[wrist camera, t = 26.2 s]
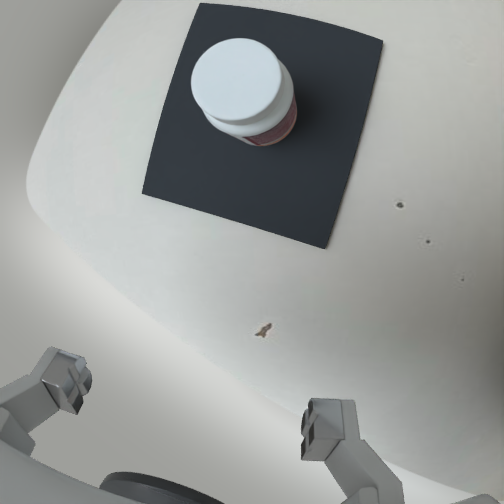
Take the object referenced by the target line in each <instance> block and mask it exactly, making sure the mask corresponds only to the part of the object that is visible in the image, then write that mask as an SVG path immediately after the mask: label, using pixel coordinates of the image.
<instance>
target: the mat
mask: <svg viewBox="0 0 504 504" xmlns="http://www.w3.org/2000/svg"><path fill="white" fill-rule="evenodd" d="M235 38H245V39H251V40H255V41H257V42H260V43H262V44H263V45H265V46H266V47H268V48H269V49H270V50H271V51H272V52H273V53H274V54H275V56H276V57H277V59H278V60H280V61H281V63H282V64H283V65H284V66H285V67H286V69H287V70H288V72H289V74H290V76H291V79H292V82H293V86H294V88H293V89H294V94H295V101H296V107H297V117H296V121H295V124H294V126H293V128H292V130H291V131H290V132H289V134H288V135H287V136H286V137H285V138H283V139H282V140H280V141H279V142H277V143H274V144H271V145H267V146H255V145H250V144H247V143H245V142H243V141H241V140H239V139H237V138H235V137H233V136H231V135H228V134H226V133H225V132H222V131H220V130H219V129H217V128H216V127H214V126H213V125H212V124H211V123H210V122H209V121H208V119H207V118H206V116H205V114H204V112H203V110H202V109H201V107H200V106H199V105H198V104H197V102H196V100H195V98H194V96H193V93H192V88H191V77H192V73H193V70H194V67H195V65H196V63H197V61H198V60H199V58H200V57H201V56H202V55H203V54H204V53H205V52H206V51H207V50H208V49H209V48H211V47H212V46H214V45H215V44H217V43H219V42H222V41H225V40H229V39H235ZM382 44H383V40H380V39H377V38H374V37H372V36H369V35H366V34H363V33H360V32H357V31H353V30H350V29H347V28H343V27H340V26H337V25H333V24H329V23H325V22H322V21H318V20H314V19H309V18H305V17H301V16H296V15H291V14H286V13H281V12H275V11H269V10H263V9H256V8H249V7H241V6H232V5H222V4H209V3H200V4H199V7H198V9H197V11H196V14H195V16H194V19H193V21H192V24H191V27H190V29H189V32H188V34H187V37H186V40H185V42H184V45H183V48H182V51H181V54H180V56H179V59H178V62H177V65H176V68H175V71H174V74H173V77H172V80H171V83H170V87H169V90H168V93H167V96H166V100H165V103H164V106H163V110H162V113H161V117H160V120H159V124H158V128H157V131H156V135H155V139H154V143H153V147H152V151H151V155H150V159H149V163H148V167H147V172H146V176H145V181H144V185H143V190H142V194H145V195H148V196H152V197H155V198H159V199H162V200H165V201H169V202H172V203H176V204H179V205H183V206H186V207H189V208H193V209H196V210H199V211H203V212H206V213H210V214H213V215H216V216H219V217H223V218H226V219H229V220H233V221H236V222H239V223H243V224H246V225H249V226H252V227H256V228H259V229H262V230H265V231H268V232H272V233H275V234H278V235H281V236H284V237H288V238H291V239H294V240H297V241H300V242H303V243H306V244H310V245H313V246H316V247H319V248H322V249H325V248H326V245H327V242H328V239H329V236H330V233H331V230H332V227H333V224H334V221H335V218H336V215H337V212H338V208H339V205H340V202H341V199H342V196H343V192H344V189H345V186H346V183H347V179H348V176H349V173H350V169H351V166H352V162H353V159H354V156H355V152H356V149H357V145H358V141H359V138H360V134H361V130H362V127H363V123H364V119H365V115H366V112H367V108H368V104H369V100H370V96H371V92H372V88H373V84H374V79H375V75H376V71H377V67H378V62H379V58H380V53H381V49H382Z"/></svg>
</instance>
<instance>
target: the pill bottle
mask: <svg viewBox="0 0 504 504" xmlns="http://www.w3.org/2000/svg"><path fill="white" fill-rule="evenodd" d="M191 88H192V93H193V96H194V98H195V100H196V102H197V104H198V105H199V106H200V107H201V109H202V110H203V112H204V114H205V116H206V118H207V119H208V121H209V122H210V123H211V124H212V125H213V126H214V127H216V128H217V129H219V130H220V131H222V132H225V133H226V134H228V135H231V136H233V137H235V138H237V139H239V140H241V141H243V142H245V143H247V144H250V145H255V146H267V145H271V144H274V143H277V142H279V141H280V140H282V139H283V138H285V137H286V136H287V135H288V134H289V132H290V131H291V130H292V128H293V126H294V124H295V121H296V117H297V107H296V101H295V94H294V89H293V88H294V86H293V82H292V79H291V76H290V74H289V72H288V70H287V69H286V67H285V66H284V65H283V64H282V63H281V61H280V60H278V59H277V57H276V56H275V54H274V53H273V52H272V51H271V50H270V49H269V48H268V47H266V46H265V45H263V44H262V43H260V42H257V41H255V40H251V39H245V38H235V39H229V40H225V41H222V42H219V43H217V44H215V45H214V46H212V47H211V48H209V49H208V50H207V51H206V52H205V53H204V54H203V55H202V56H201V57H200V58H199V60H198V61H197V63H196V65H195V67H194V70H193V73H192V77H191Z"/></svg>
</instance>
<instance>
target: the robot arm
mask: <svg viewBox="0 0 504 504" xmlns="http://www.w3.org/2000/svg"><path fill="white" fill-rule="evenodd" d="M86 364H87V363H86V360H85V358H84V357H81V356H78V355H75V354H72V353H68V352H66V351H63V350H61V349H57V348H55V347H49V348H48V349H47V350H46V351H45V353H44V355H43V356H42V357H41V359H40V360H39V362H38V363H37V365H36V366H35V368H34V369H33V371H32V372H31V374H30V375H25V376H23V377H21V378H19V379H17V380H16V381H14V382H12V383H10V384H8V385H6V386H4V387H2V388H0V504H145V503H141V502H138V501H135V500H131V499H128V498H125V497H122V496H119V495H116V494H113V493H110V492H107V491H105V490H102V489H99V488H97V487H94V486H91V485H89V484H86V483H84V482H82V481H79V480H77V479H75V478H72V477H70V476H68V475H66V474H63V473H61V472H59V471H57V470H55V469H53V468H51V467H48V466H47V465H45V464H43V463H41V462H39V461H37V460H35V459H33V458H31V457H30V455H31V453H32V451H33V449H34V446H35V441H34V440H33V439H32V438H31V437H30V436H29V434H28V433H29V432H30V431H32V430H33V429H34V428H36V427H37V426H38V425H40V424H41V423H42V422H44V421H45V420H47V419H48V418H49V417H50V416H52V415H53V414H55V413H56V412H57V411H59V409H62V410H65V411H67V412H70V413H73V414H75V415H77V414H78V412H79V410H80V408H81V406H82V404H83V397H82V396H84V395H86V394H87V393H88V392H89V390H90V388H91V383H92V375H91V373H90V370H88V368H87V367H86ZM301 434H302V435H303V437H304V440H303V442H302V444H301V460H307V461H308V460H309V461H325V464H326V466H327V467H328V469H329V470H330V472H331V473H332V475H333V477H334V478H335V480H336V481H337V483H338V484H339V486H340V487H341V489H342V490H343V492H344V493H345V495H346V496H347V498H348V499H346V500H345V501H344V502H342V503H341V504H404V495H403V489H402V482H401V481H400V480H399V479H398V478H397V477H396V476H395V474H394V473H393V472H392V471H391V470H390V469H389V468H388V467H387V465H386V464H385V463H384V462H383V461H382V460H381V458H380V457H379V456H378V455H377V454H376V453H375V452H374V450H373V449H372V448H371V447H370V446H369V445H368V444H367V442H366V441H365V440H360V433H359V425H358V418H357V411H356V405H355V402H354V400H349V399H321V398H311V399H310V400H309V403H308V409H306V410H305V412H304V414H303V418H302V425H301ZM452 504H500V503H499V502H498V501H497V500H495V499H494V498H493V497H492V496H490V495H489V494H480V495H477V496H474V497H471V498H468V499H466V500H462V501H459V502H456V503H452Z"/></svg>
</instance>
